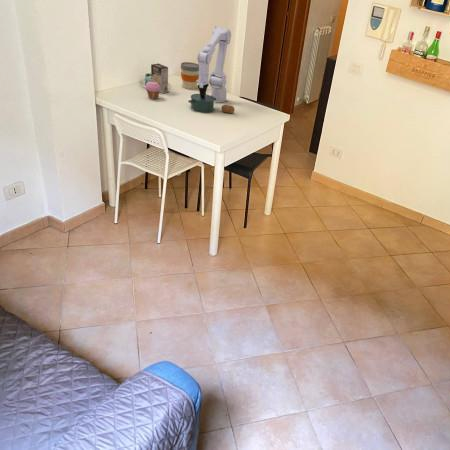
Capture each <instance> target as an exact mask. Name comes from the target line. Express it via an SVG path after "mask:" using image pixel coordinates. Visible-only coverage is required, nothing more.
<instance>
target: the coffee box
mask: <svg viewBox="0 0 450 450" xmlns="http://www.w3.org/2000/svg"><path fill="white" fill-rule="evenodd" d="M150 75H151V77H150V78H151V79H150V80H151V81H150V82H157V83H158V84H159V85H160V87H161V90H160V91H159V94H166V93H168V92H169V66H166V65H163V64H162V63H152V64H150Z"/></svg>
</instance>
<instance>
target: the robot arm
mask: <svg viewBox="0 0 450 450" xmlns="http://www.w3.org/2000/svg"><path fill="white" fill-rule="evenodd" d="M231 39H232V32H231V29H229V28H223V27H219V26H214V27H213V29H212V37H211V39H210V41H209V42H207V43H206V44H205V46H204V48H203V49H202V51H199V52H198V53H197V57H196V59H197V64H198V65H199V79H198V80H196V82H197V89H198V92H199V94H200V97H202V98H204V96H205V95H206V94H207V90H208V88H209V85H210V87H211V88H210V89H211V91H210V95H211V96H213V97H214V98H216V100H214V104H217V103H224V102H227V91H228V90H227V87H226V86H227V75H226V73H224V66H225V60H226V54H227V48H228V45H230V43H231ZM217 45H218V49H217V54H216V55H217V56H216V61H215V67H214V70H213V71H211V72H210V64H211V62H212V58H213V55H214V53H215V51H216V46H217Z"/></svg>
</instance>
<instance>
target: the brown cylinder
mask: <svg viewBox="0 0 450 450" xmlns="http://www.w3.org/2000/svg"><path fill="white" fill-rule="evenodd" d="M220 109H221V110H220V111H222V112H223V113H225V114H226V113H227V114H233V113H235V110H236V109H235V107H234V105H230V104H222V105H221V107H220Z"/></svg>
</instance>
